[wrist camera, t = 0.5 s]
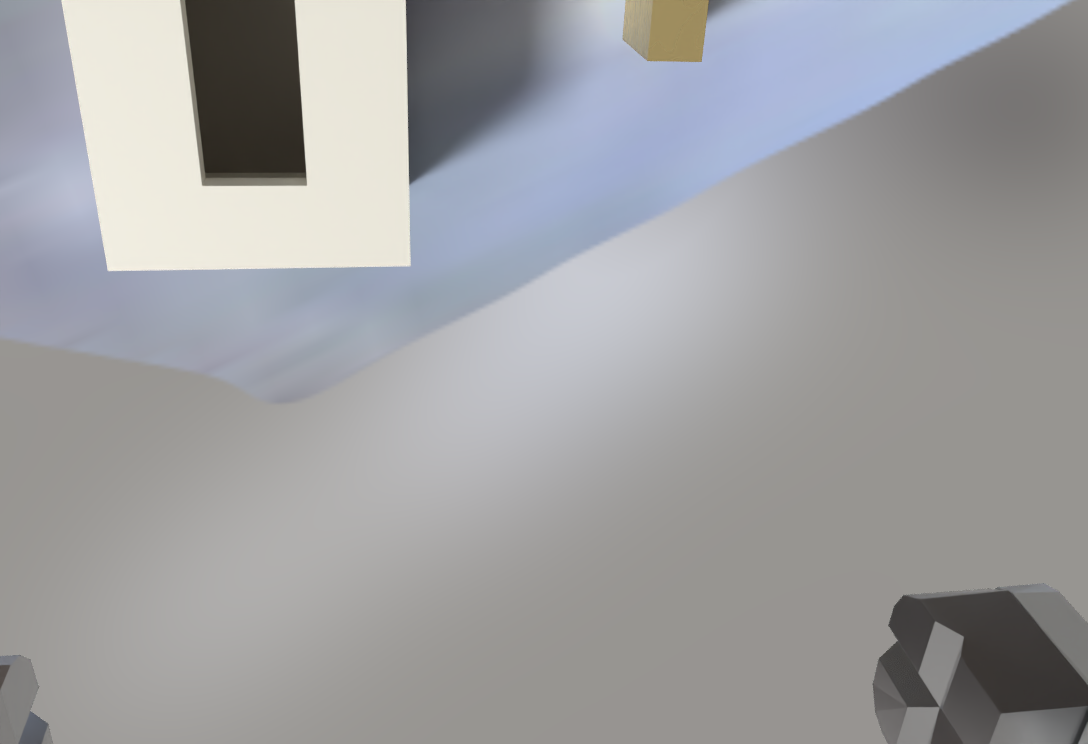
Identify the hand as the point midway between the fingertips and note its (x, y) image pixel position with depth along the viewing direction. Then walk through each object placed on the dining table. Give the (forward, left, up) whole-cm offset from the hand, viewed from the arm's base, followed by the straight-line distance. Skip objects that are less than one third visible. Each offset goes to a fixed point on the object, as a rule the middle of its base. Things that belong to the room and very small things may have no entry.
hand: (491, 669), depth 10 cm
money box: (+2, -6, -42) cm, 43 cm away
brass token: (-1, +12, -42) cm, 44 cm away
